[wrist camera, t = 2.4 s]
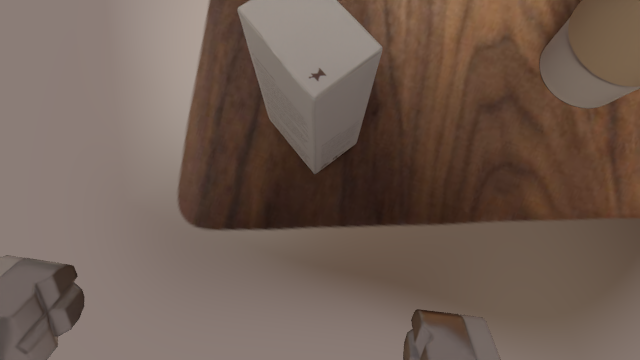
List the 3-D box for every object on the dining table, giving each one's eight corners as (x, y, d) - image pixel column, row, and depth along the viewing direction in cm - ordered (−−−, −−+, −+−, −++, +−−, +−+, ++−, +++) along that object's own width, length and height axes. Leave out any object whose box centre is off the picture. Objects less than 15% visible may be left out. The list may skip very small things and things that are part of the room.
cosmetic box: (358, 143, 28) (388, 49, 16) (314, 176, 27) (312, 103, 16) (309, 86, 29) (305, -39, 18) (266, 117, 28) (231, 7, 17)
